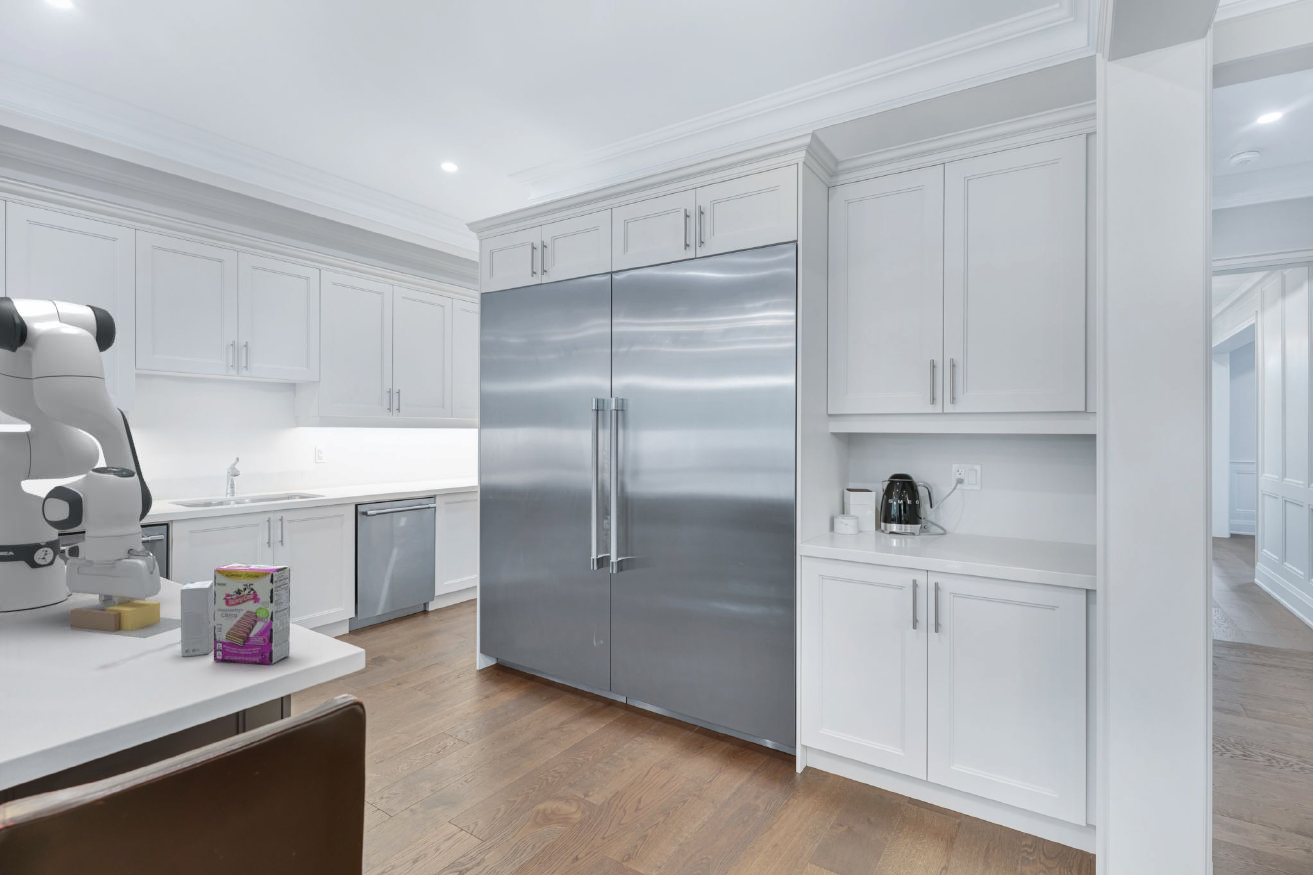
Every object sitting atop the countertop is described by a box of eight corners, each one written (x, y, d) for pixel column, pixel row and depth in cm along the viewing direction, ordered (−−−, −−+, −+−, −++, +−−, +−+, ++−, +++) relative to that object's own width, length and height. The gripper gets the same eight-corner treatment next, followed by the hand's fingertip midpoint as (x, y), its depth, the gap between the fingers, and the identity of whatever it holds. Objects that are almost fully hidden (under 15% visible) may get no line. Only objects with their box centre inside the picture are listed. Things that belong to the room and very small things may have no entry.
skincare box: (209, 654, 117) (210, 586, 117) (179, 657, 115) (179, 589, 115) (215, 643, 122) (216, 579, 122) (186, 647, 120) (187, 581, 120)
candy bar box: (211, 662, 113) (211, 568, 112) (233, 653, 118) (233, 562, 117) (272, 666, 111) (272, 570, 111) (291, 656, 116) (291, 564, 116)
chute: (64, 633, 127) (64, 610, 127) (122, 618, 138) (122, 596, 137) (144, 643, 122) (144, 619, 122) (198, 626, 133) (198, 604, 133)
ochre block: (105, 628, 128) (105, 607, 127) (136, 619, 133) (136, 600, 133) (129, 630, 126) (129, 610, 126) (159, 621, 132) (160, 602, 132)
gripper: (169, 548, 131) (169, 616, 132) (92, 543, 136) (92, 608, 136) (138, 553, 125) (138, 625, 125) (58, 548, 130) (58, 617, 130)
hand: (113, 616), depth 131 cm, fingers closed
